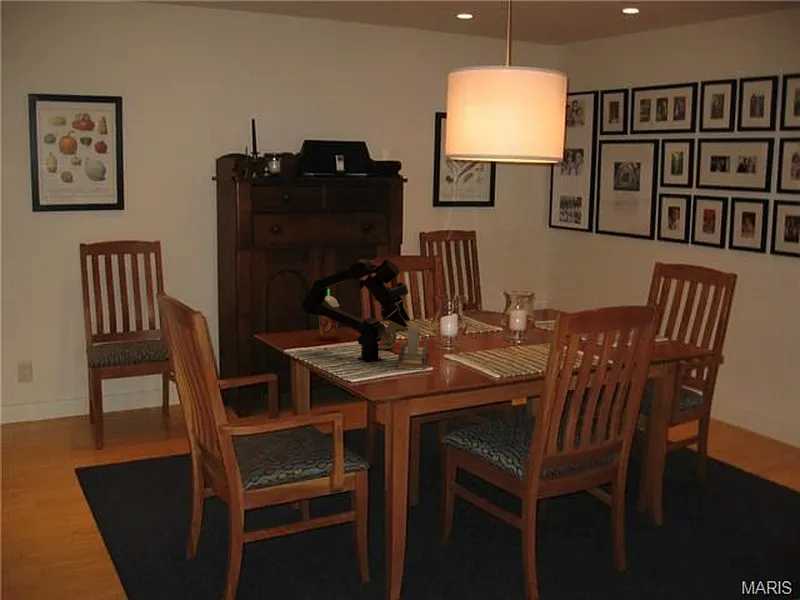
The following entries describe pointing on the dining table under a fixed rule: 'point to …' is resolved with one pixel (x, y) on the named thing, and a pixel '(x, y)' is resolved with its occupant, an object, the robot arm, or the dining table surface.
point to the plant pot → (397, 326)
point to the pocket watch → (388, 335)
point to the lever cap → (413, 341)
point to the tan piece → (412, 358)
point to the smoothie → (328, 322)
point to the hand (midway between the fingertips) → (407, 323)
